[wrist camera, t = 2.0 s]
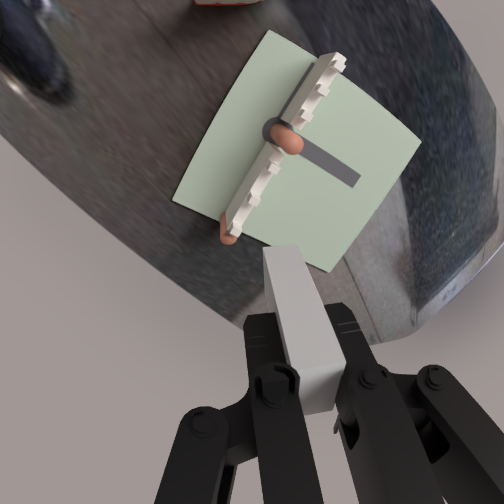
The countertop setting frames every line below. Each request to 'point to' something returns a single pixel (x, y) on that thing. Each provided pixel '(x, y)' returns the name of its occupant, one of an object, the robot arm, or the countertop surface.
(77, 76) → the countertop surface
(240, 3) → the toy
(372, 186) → the card
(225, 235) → the swing panel
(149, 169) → the countertop surface
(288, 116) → the fixed fence
